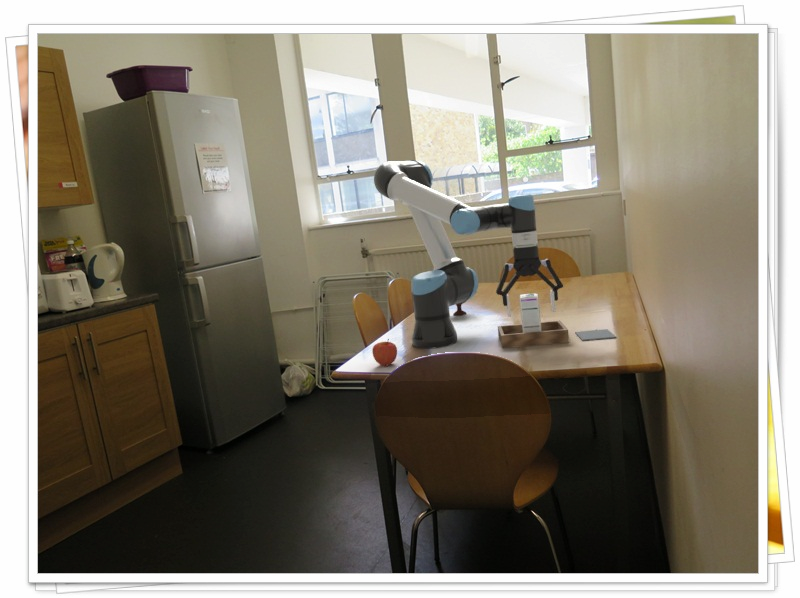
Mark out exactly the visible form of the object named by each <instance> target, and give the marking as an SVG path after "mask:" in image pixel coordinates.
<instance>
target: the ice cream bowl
mask: <svg viewBox="0 0 800 598" xmlns="http://www.w3.org/2000/svg"><path fill="white" fill-rule="evenodd" d="M466 302H467V301H465V302H463V303H458V304H455V306H456V310H455V312H454V313H453V315H452V316H454V317H460V316H465V315H467V312H466V311H464V310H463V308H462V305H463V304H465V303H466Z"/></svg>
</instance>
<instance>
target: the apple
mask: <svg viewBox="0 0 800 598" xmlns="http://www.w3.org/2000/svg"><path fill="white" fill-rule="evenodd" d="M371 353H372V357H373V359H374V360H375V362H376V363H378V364H379V365H380V366H382V367H388V366H390V365H392V364H393V363H394V362H395V361H396V359H397V356H398V348H397V346H396V344H395V343H393V342H391V341H389V338H388V339H387V341H382V342H381V341H380V342H377V343H376V344H374V345H373V347H372V352H371ZM391 363H392V364H391Z"/></svg>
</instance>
